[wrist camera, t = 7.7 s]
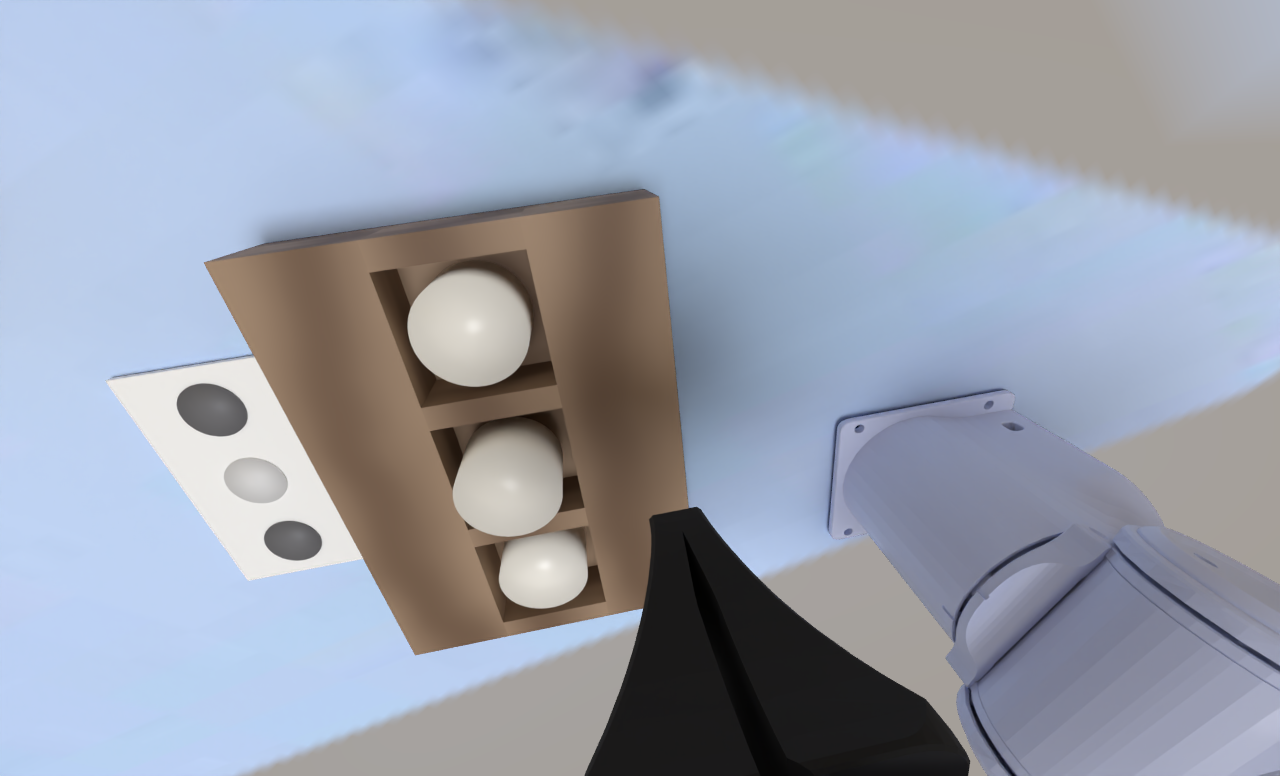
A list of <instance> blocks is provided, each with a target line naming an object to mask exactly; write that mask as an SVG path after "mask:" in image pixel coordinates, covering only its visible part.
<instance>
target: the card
mask: <svg viewBox="0 0 1280 776" xmlns="http://www.w3.org/2000/svg"><path fill="white" fill-rule="evenodd" d="M106 383H107V384H108V385H109V387H110V388H111V390H112V391H113V392H114V394H115V395H116V397H117V398H118V399H119V401H120V402H121V404H122V405H123V406H124V408H125V409H126V411H127V412H128V413H129V415H130V416H131V418H132V419H133V420H134V422H135V423H136V425H137V426H138V427H139V429H140V430H141V432H142V433H143V434H144V436H145V437H146V439H147V440H148V441H149V443H150V444H151V446H152V447H153V448H154V450H155V451H156V453H157V454H158V455H159V457H160V458H161V460H162V461H163V462H164V464H165V465H166V467H167V468H168V469H169V471H170V472H171V474H172V475H173V476H174V478H175V479H176V481H177V482H178V483H179V485H180V486H181V488H182V489H183V490H184V492H185V493H186V495H187V496H188V497H189V499H190V500H191V502H192V503H193V504H194V506H195V507H196V509H197V510H198V511H199V513H200V514H201V516H202V517H203V518H204V520H205V521H206V523H207V524H208V525H209V527H210V528H211V530H212V531H213V532H214V534H215V535H216V537H217V538H218V539H219V541H220V542H221V544H222V545H223V546H224V548H225V549H226V551H227V552H228V553H229V555H230V556H231V558H232V559H233V560H234V562H235V563H236V564H237V566H238V567H239V569H240V570H241V571H242V573H243V574H244V576H245V577H246V578H247V580H248V581H249V580H255V579H260V578H265V577H270V576H275V575H281V574H286V573H291V572H296V571H302V570H307V569H312V568H317V567H323V566H328V565H333V564H338V563H344V562H349V561H354V560H359V559H363V557H362V556H361V554H360V552H359V550H358V548H357V546H356V544H355V543H354V541H353V539H352V537H351V535H350V533H349V531H348V530H347V528H346V526H345V524H344V522H343V520H342V518H341V517H340V515H339V513H338V511H337V509H336V507H335V505H334V504H333V502H332V500H331V498H330V496H329V494H328V492H327V491H326V489H325V487H324V485H323V483H322V481H321V479H320V478H319V476H318V474H317V472H316V470H315V468H314V466H313V465H312V463H311V461H310V459H309V457H308V455H307V453H306V452H305V450H304V448H303V446H302V444H301V442H300V440H299V439H298V437H297V435H296V433H295V431H294V429H293V427H292V426H291V424H290V422H289V420H288V418H287V416H286V414H285V413H284V411H283V409H282V407H281V405H280V403H279V401H278V400H277V398H276V396H275V394H274V392H273V390H272V388H271V387H270V385H269V383H268V381H267V379H266V377H265V375H264V374H263V372H262V370H261V368H260V366H259V364H258V362H257V361H256V359H255V357H254V355H251V356H245V357H239V358H232V359H226V360H220V361H214V362H207V363H201V364H195V365H188V366H182V367H176V368H170V369H163V370H157V371H151V372H144V373H138V374H132V375H126V376H119V377H113V378H110V379H108V380H106Z"/></svg>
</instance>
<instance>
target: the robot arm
mask: <svg viewBox="0 0 1280 776" xmlns="http://www.w3.org/2000/svg"><path fill="white" fill-rule="evenodd" d="M986 402H987V403H986ZM1014 402H1015V395H1014V394H1013V393H1011V392H1009V391H1007V390H1002V391H996V392H991V393H985V394H980V395H974V396H969V397H963V398H958V399H953V400H947V401H942V402H936V403H931V404H925V405H920V406H914V407H909V408H904V409H898V410H893V411H887V412H882V413H876V414H871V415H865V416H860V417H855V418H849V419H845V420H843V421H842V422H840V424H839V425H838V428H837V437H836V449H835V461H834V473H833V485H832V497H831V509H830V521H829V534H830V535H831V537H832V538H833V539H836V540H837V539H844V538H849V537H854V536H859V535H864V534H868V535H869V536H870V537H871V538H872V540H873V541H874V542H875V543H876V545H877V546H878V547H879V549H880V550H881V551H882V552H883V554H884V555H885V556H886V557H887V559H888V560H889V561H890V562H891V564H892V565H893V566H894V568H896V570H897V571H898V573H899V574H900V575H901V577H902V578H903V579H904V580H905V581H906V583H907V584H908V585H909V587H910V588H911V589H912V590H913V592H914V593H915V594H916V596H917V597H918V598H919V599H920V601H921V602H922V603H923V604H924V606H925V607H926V608H927V609H928V611H929V612H930V613H931V615H932V616H933V617H934V618H935V620H936V621H937V622H938V624H939V625H940V626H941V627H942V629H943V630H944V631H945V632H946V634H947V635H948V636H949V637H950V639H951V640H952V641H953V643H954V646H953V648H952V649H951V651H950V652H949V653H948V655H947V656H946V660H947V661H948V663H949V664H950V665H951V667H952V668H953V669H954V671H955V672H956V673H957V675H958V676H959V677H960V678H961V680H962V681H963V683H964V684H963V685H962V686H961V688H960V690H959V691H958V693H957V701H956V703H957V710H958V715H959V718H960V721H961V724H962V727H963V729H964V732H965V734H966V736H967V739H968V741H969V744H970V746H971V748H972V750H973V752H974V754H975V756H976V758H977V760H978V761H979V763H980V765H981V766H982V768H983V770H984V771H985V773H986V774H987V776H1280V585H1279V584H1278V583H1276V582H1274V581H1272V580H1271V579H1269V578H1267V577H1265V576H1264V575H1262V574H1260V573H1258V572H1256V571H1255V570H1253V569H1251V568H1249V567H1248V566H1246V565H1244V564H1242V563H1240V562H1238V561H1236V560H1235V559H1233V558H1231V557H1229V556H1227V555H1225V554H1223V553H1221V552H1219V551H1217V550H1215V549H1214V548H1211V547H1209V546H1207V545H1205V544H1203V543H1201V542H1199V541H1197V540H1195V539H1193V538H1191V537H1188V536H1186V535H1184V534H1182V533H1179V532H1177V531H1174V530H1172V529H1169V528H1166V527H1164V524H1163V522H1162V520H1161V518H1160V516H1159V514H1158V513H1157V511H1156V509H1155V508H1154V507H1153V505H1152V504H1151V502H1150V501H1149V500H1148V498H1147V497H1146V496H1145V495H1144V494H1143V493H1142V491H1141V490H1139V488H1138V487H1137V486H1136V485H1135V484H1133V483H1132V482H1131V481H1130V480H1129V479H1127V478H1126V477H1125V476H1124V475H1122V474H1121V473H1119V472H1118V471H1116V470H1115V469H1113V468H1111V467H1109V466H1108V465H1106V464H1104V463H1103V462H1101V461H1099V460H1097V459H1096V458H1094V457H1092V456H1091V455H1089V454H1087V453H1085V452H1084V451H1082V450H1080V449H1079V448H1077V447H1075V446H1073V445H1072V444H1070V443H1068V442H1067V441H1065V440H1063V439H1061V438H1060V437H1058V436H1056V435H1055V434H1053V433H1051V432H1049V431H1048V430H1046V429H1044V428H1043V427H1041V426H1039V425H1037V424H1036V423H1034V422H1032V421H1031V420H1029V419H1027V418H1025V417H1024V416H1022V415H1020V414H1019V413H1017V412H1015V411H1014V410H1012V409H1013V405H1014ZM985 403H986V404H985ZM858 425H860V426H859V427H858V428H857V429H855V427H856V426H858ZM649 523H650V530H651V558H650V568H649V577H648V584H647V590H646V596H645V601H644V607H643V612H642V617H641V621H640V625H639V630H638V633H637V637H636V641H635V645H634V648H633V652H632V655H631V658H630V662H629V665H628V669H627V671H626V674H625V677H624V681H623V683H622V686H621V689H620V692H619V695H618V697H617V700H616V702H615V705H614V708H613V710H612V713H611V715H610V718H609V721H608V723H607V726H606V728H605V730H604V733H603V735H602V737H601V739H600V742H599V744H598V746H597V748H596V751H595V753H594V755H593V757H592V759H591V762H590V764H589V766H588V768H587V771H586V773H585V776H968V773H969V765H970V760H969V757H968V755H967V753H966V752H965V750H964V749H963V747H962V745H961V744H960V743H959V741H958V739H957V738H956V737H955V735H954V734H953V732H952V731H951V730H950V728H949V727H948V726H947V725H946V723H945V722H944V721H943V720H942V718H941V717H940V716H939V715H938V714H937V712H936V711H935V710H934V709H933V707H932V706H931V705H930V704H929V703H928V702H927V700H926V699H924V698H923V697H921V696H919V695H917V694H916V693H914V692H912V691H910V690H909V689H907V688H905V687H903V686H902V685H900V684H898V683H896V682H895V681H893V680H891V679H890V678H888V677H886V676H885V675H883V674H881V673H879V672H878V671H876V670H875V669H873V668H872V667H870V666H869V665H867V664H866V663H864V662H863V661H861V660H859V659H858V658H856V657H855V656H853V655H852V654H850V653H849V652H847V651H846V650H845V649H843V648H842V647H840V646H839V645H838V644H836V643H835V642H834V641H832V640H831V639H829V638H828V637H827V636H825V635H824V634H823V633H821V632H820V631H818V630H817V629H816V628H814V627H813V626H812V625H811V624H809V623H808V622H807V621H806V620H804V619H803V618H802V617H801V616H799V615H798V614H797V613H796V612H795V611H793V610H792V609H791V608H790V607H789V606H788V605H786V604H785V603H784V602H783V601H782V600H781V599H780V598H778V597H777V596H776V595H775V594H774V593H773V592H772V591H771V590H770V589H769V588H767V586H766V585H765V584H764V583H763V582H762V581H761V580H760V579H759V578H758V577H757V576H756V575H755V574H754V573H753V572H752V571H751V570H750V569H749V568H748V567H747V566H746V565H745V564H744V563H743V562H742V561H741V560H740V558H739V557H738V556H737V555H736V554H735V553H734V552H733V551H732V550H731V548H730V547H729V546H728V545H727V544H726V543H725V541H724V540H723V539H722V538H721V536H720V535H719V534H718V533H717V531H716V530H715V529H714V528H713V526H712V525H711V524H710V522H709V521H708V519H707V518H706V516H705V515H704V514H703V512H702V510H701V509H699V508H698V507H693V508H688V509H682V510H677V511H672V512H667V513H662V514H657V515H652V517H651V518H650V519H649ZM846 529H847V530H846Z"/></svg>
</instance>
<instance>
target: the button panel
mask: <svg viewBox="0 0 1280 776" xmlns="http://www.w3.org/2000/svg"><path fill="white" fill-rule="evenodd" d="M471 260H479V261H486V262H490V263H494V264H497V265H499V266H501V267H503V268H505V269H507V270H508V271H510V272H511V273H512V274H514V275H515V276H516V277H517V278H518V279H519V280H520V281H521V283H522V284H523V285H524V286H525V288H526V290H527V291H528V293H529V296H530V298H531V301H532V305H533V311H534V318H533V325H532V331H531V337H530V342H529V347H528V351H527V354H526V356H525V359H524V360H523V362H522V364H521V365H520V366H519V368H518V369H517V370H516V371H515V372H514V373H513V374H511V375H510V376H509V377H507V378H506V379H504V380H502V381H500V382H497V383H495V384H491V385H487V386H479V387H470V386H462V385H458V384H454V383H451V382H448V381H446V380H444V379H442V378H440V377H439V376H437V375H435V374H434V373H433V372H431V371H430V370H429V369H428V368H427V367H426V366H425V365H424V364H423V363H422V362H421V361H420V360H419V358H418V357H417V355H416V354H415V352H414V350H413V348H412V346H411V343H410V340H409V336H408V316H409V312H410V309H411V307H412V305H413V303H414V301H415V300H416V298H417V297H418V295H419V294H420V293H421V292H422V291H423V290H424V289H425V288H426V287H427V286H428V285H429V284H430V283H431V282H432V281H433V280H434V279H435V278H436V277H437V276H438V275H439V274H440V273H441V272H442V271H444V270H445V269H446V268H448V267H450V266H452V265H454V264H457V263H459V262H464V261H471ZM204 264H205V266H206V268H207V270H208V272H209V273H210V275H211V277H212V279H213V281H214V283H215V285H216V286H217V288H218V290H219V292H220V294H221V296H222V298H223V299H224V301H225V303H226V305H227V307H228V309H229V311H230V312H231V314H232V316H233V318H234V320H235V322H236V324H237V325H238V327H239V329H240V331H241V333H242V335H243V337H244V338H245V340H246V342H247V344H248V346H249V348H250V350H251V351H252V353H253V355H254V357H255V359H256V361H257V362H258V364H259V366H260V368H261V370H262V372H263V374H264V375H265V377H266V379H267V381H268V383H269V385H270V387H271V388H272V390H273V392H274V394H275V396H276V398H277V400H278V401H279V403H280V405H281V407H282V409H283V411H284V413H285V414H286V416H287V418H288V420H289V422H290V424H291V426H292V427H293V429H294V431H295V433H296V435H297V437H298V439H299V440H300V442H301V444H302V446H303V448H304V450H305V452H306V453H307V455H308V457H309V459H310V461H311V463H312V465H313V466H314V468H315V470H316V472H317V474H318V476H319V478H320V479H321V481H322V483H323V485H324V487H325V489H326V491H327V492H328V494H329V496H330V498H331V500H332V502H333V504H334V505H335V507H336V509H337V511H338V513H339V515H340V517H341V518H342V520H343V522H344V524H345V526H346V528H347V530H348V531H349V533H350V535H351V537H352V539H353V541H354V543H355V544H356V546H357V548H358V550H359V552H360V554H361V556H362V557H363V559H364V561H365V563H366V565H367V567H368V569H369V570H370V572H371V574H372V576H373V578H374V580H375V582H376V583H377V585H378V587H379V589H380V591H381V593H382V595H383V596H384V598H385V600H386V602H387V604H388V606H389V607H390V609H391V611H392V613H393V615H394V617H395V619H396V620H397V622H398V624H399V626H400V628H401V630H402V632H403V633H404V635H405V637H406V639H407V641H408V643H409V645H410V646H411V648H412V650H413V652H414V654H415V655H419V654H424V653H429V652H434V651H438V650H443V649H448V648H453V647H458V646H463V645H468V644H472V643H477V642H482V641H487V640H492V639H497V638H501V637H506V636H511V635H516V634H521V633H526V632H531V631H535V630H540V629H545V628H550V627H555V626H560V625H564V624H569V623H574V622H579V621H584V620H589V619H594V618H598V617H603V616H608V615H613V614H618V613H623V612H627V611H632V610H637V609H642V608H643V607H644V601H645V596H646V590H647V584H648V577H649V568H650V558H651V530H650V523H649V519H650V518H651V517H652V515H657V514H662V513H667V512H672V511H677V510H682V509H688V497H687V487H686V476H685V466H684V455H683V445H682V434H681V424H680V413H679V403H678V392H677V381H676V371H675V360H674V350H673V339H672V329H671V318H670V308H669V297H668V287H667V276H666V266H665V255H664V245H663V234H662V224H661V213H660V203H659V196H657V195H655V194H653V193H651V192H649V191H647V190H645V189H642V190H635V191H628V192H621V193H614V194H607V195H600V196H593V197H586V198H579V199H572V200H565V201H558V202H552V203H545V204H538V205H531V206H524V207H517V208H510V209H503V210H496V211H489V212H482V213H475V214H468V215H461V216H454V217H447V218H440V219H433V220H426V221H419V222H412V223H405V224H398V225H391V226H384V227H377V228H370V229H363V230H356V231H349V232H342V233H335V234H328V235H322V236H315V237H308V238H301V239H294V240H287V241H280V242H273V243H266V244H261V245H258V246H255V247H252V248H248V249H245V250H242V251H239V252H236V253H233V254H230V255H226V256H223V257H220V258H217V259H214V260H211V261H207V262H204ZM508 417H523V418H528V419H531V420H534V421H537V422H539V423H541V424H542V425H544V426H546V427H547V428H548V429H549V430H551V431H552V432H553V434H554V435H555V436H556V437H557V439H558V441H559V443H560V445H561V448H562V452H563V498H562V503H561V506H560V509H559V510H558V512H557V514H556V515H555V517H554V518H553V519H552V520H551V521H550V522H549V523H547V524H546V525H545V526H543V527H542V528H540V529H538V530H536V531H534V532H531V533H529V534H525V535H520V536H511V537H505V536H496V535H491V534H487V533H485V532H482V531H480V530H478V529H476V528H474V527H472V526H471V525H469V524H468V523H467V522H466V521H465V520H464V519H463V518H462V517H461V516H460V514H459V513H458V511H457V509H456V507H455V505H454V501H453V487H454V483H455V480H456V477H457V474H458V470H459V467H460V464H461V461H462V458H463V455H464V452H465V449H466V446H467V444H468V441H469V439H470V438H471V436H472V435H473V434H474V432H475V431H476V430H477V429H479V428H480V427H481V426H483V425H484V424H486V423H488V422H490V421H492V420H496V419H502V418H508ZM582 526H583V527H584V529H585V534H586V550H587V568H588V578H587V582H586V585H585V587H584V588H583V590H582V591H581V592H580V593H579V594H578V595H577V596H576V597H575V598H574V599H572V600H571V601H569V602H567V603H565V604H562V605H559V606H556V607H551V608H542V609H541V608H529V607H525V606H522V605H519V604H517V603H515V602H513V601H512V600H510V599H509V598H508V597H507V596H506V595H505V594H504V593H503V591H502V589H501V587H500V584H499V573H500V567H501V560H502V553H503V547H504V541H509V540H514V539H520V538H525V537H530V536H535V535H540V534H546V533H551V532H556V531H561V530H566V529H572V528H577V527H582Z"/></svg>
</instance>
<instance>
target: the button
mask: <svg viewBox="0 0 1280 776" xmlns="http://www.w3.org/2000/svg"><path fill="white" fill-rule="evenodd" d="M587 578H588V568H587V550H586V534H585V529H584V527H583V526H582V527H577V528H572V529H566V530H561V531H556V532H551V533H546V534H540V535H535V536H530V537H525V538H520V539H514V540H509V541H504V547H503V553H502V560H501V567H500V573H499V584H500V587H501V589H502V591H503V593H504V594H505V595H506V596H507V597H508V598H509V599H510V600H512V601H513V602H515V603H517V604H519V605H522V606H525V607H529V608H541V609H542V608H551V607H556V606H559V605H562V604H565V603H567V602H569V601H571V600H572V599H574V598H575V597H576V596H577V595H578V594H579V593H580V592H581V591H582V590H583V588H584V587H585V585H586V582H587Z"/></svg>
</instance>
